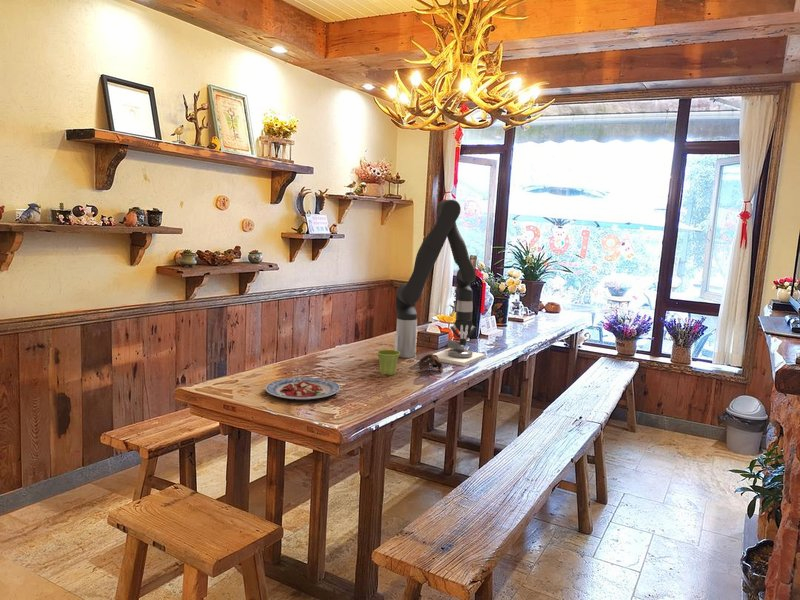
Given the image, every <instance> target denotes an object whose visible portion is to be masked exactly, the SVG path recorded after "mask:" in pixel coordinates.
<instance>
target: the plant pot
mask: <svg viewBox="0 0 800 600" xmlns="http://www.w3.org/2000/svg"><path fill="white" fill-rule="evenodd" d="M376 354H377V357H378V363H379V372H380V374H381V375H383V376H384V375H388V376H392V375H395V374H396V371H397V367H398V366H397V365H398V360H399V359H398V358H400V357H399V354H400V352H399V351H395V349H382V350H377V351H376Z"/></svg>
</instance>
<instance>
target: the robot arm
mask: <svg viewBox="0 0 800 600" xmlns="http://www.w3.org/2000/svg"><path fill="white" fill-rule="evenodd" d="M461 208H462V207H461V204H460V203H459V201H458V200H456V199H444V200H443V199H442V200H441V201H439V202H438V204H437V205H436V210H435V211H436V215H437V217H438V218H437V220H436V223H435V225H434V226H433V228H432V229H431V230H430V231H429V232H428V234H427V235H426V236H425V238H424V239H423V241H422V242H421V244H420V246H419V248H418V250H417V253H416V256H415V260H414V267H413V271H412V274H411V276H410V277H409V279H408V281H407V282H404V283H401V284H399V286H398V287H397V289H396V293H395V311H396V328H395V329H396V331H395V332H396V333H395V334H394V350H395V351H399V352H400V354H399V357H398V358H406V359H407V358H409V359H410V358H414V357H416V355H417V353H416V352H417V350H416V348H417V331H418V330H417V328H418V312H417V310H416V304H417V303H418V301H419V300H420V299H421V296H422V294H423V290H424V288H425V285H426V283H427V279H428V278H429V275H430V274H431V272H432V270H433V268H434V265H435V263H436V261H437V260H438V258H439V255H440V253H441V252H442V248H443V247H444V245H445V242H446V240H448V245H449V247H450V250H451V254H452V257H453V261H454V263H455V265H457V267H458V269H457V272H456V276H455V277H456V288H457V297H456V299H457V300H456V308H455V322H454V324H453V325H451V326H450V327H449V328H450V330H451V331H452V333H453V335H455V337H456V339H457V338H458V339H459V344H461V345H464V347H465V346H466V345H467V339H469V338H471V337H472V335H473V334H474V333H475V332H476V331H477V329H478V327H476V326H474V325H473V311H474V310H473V309H474V308H473V307H474V306H473V305H474V304H473V297H474V296H473V294H474V292H473V289H472V288H471V284H472V283H474V282H475V280H476V277H477V273H476V269H475V267H474V265H473V263H472V260H471V258H470V256H469V252H468V249H467V248H468V247H467V245H466V243H465V240H464V238H463V236H462V235H461V233H460V230H459V227H458V225H457V220H458V219H459V216H460V214H461V211H462V209H461ZM456 330H457V331H458V332H457V331H456Z"/></svg>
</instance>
